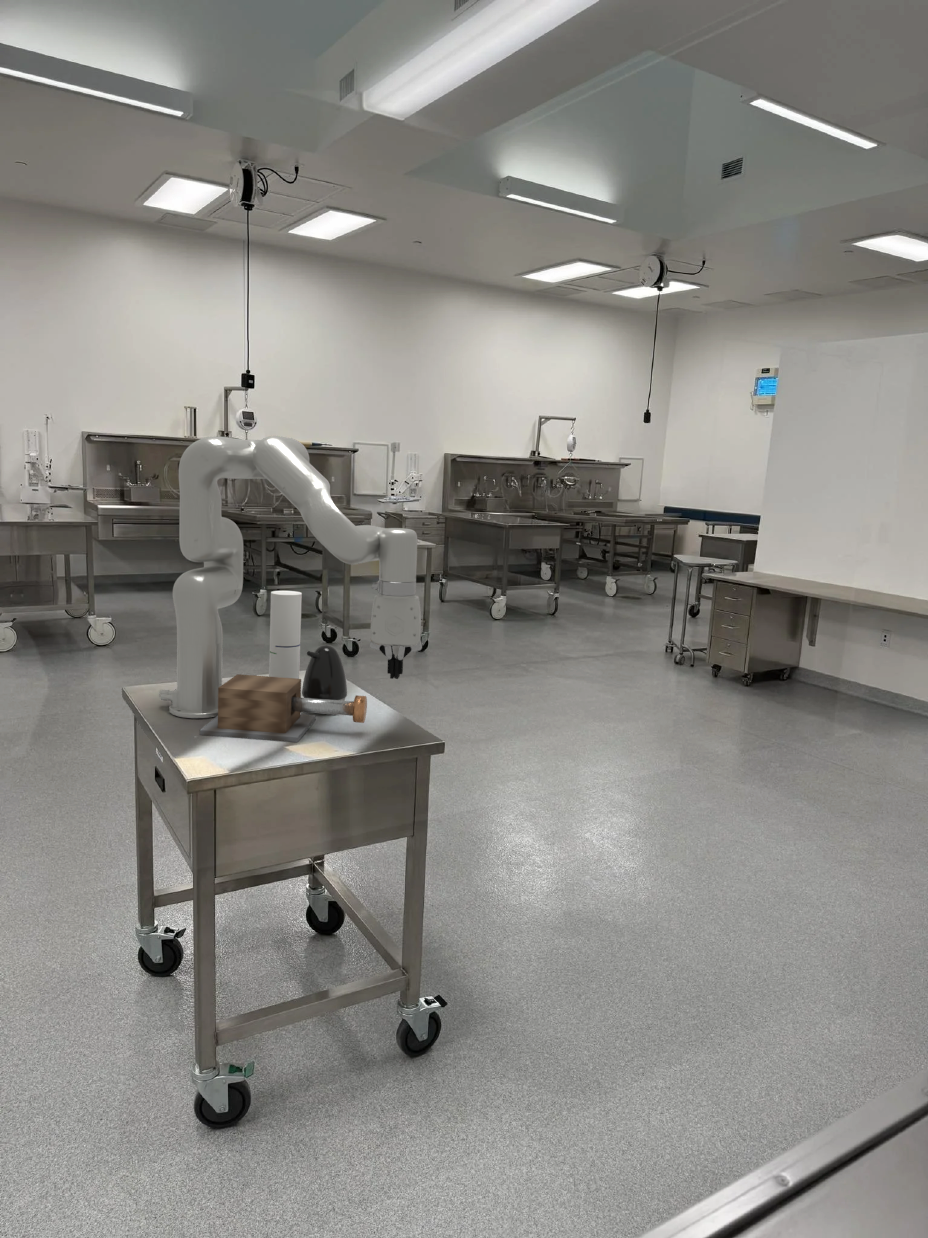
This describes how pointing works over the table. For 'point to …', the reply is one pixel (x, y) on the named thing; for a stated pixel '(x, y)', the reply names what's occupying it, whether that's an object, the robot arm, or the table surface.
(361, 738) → the table surface
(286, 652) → the cylindrical container
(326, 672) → the black rounded figure
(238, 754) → the table surface
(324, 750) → the table surface
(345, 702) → the shaft
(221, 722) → the block
